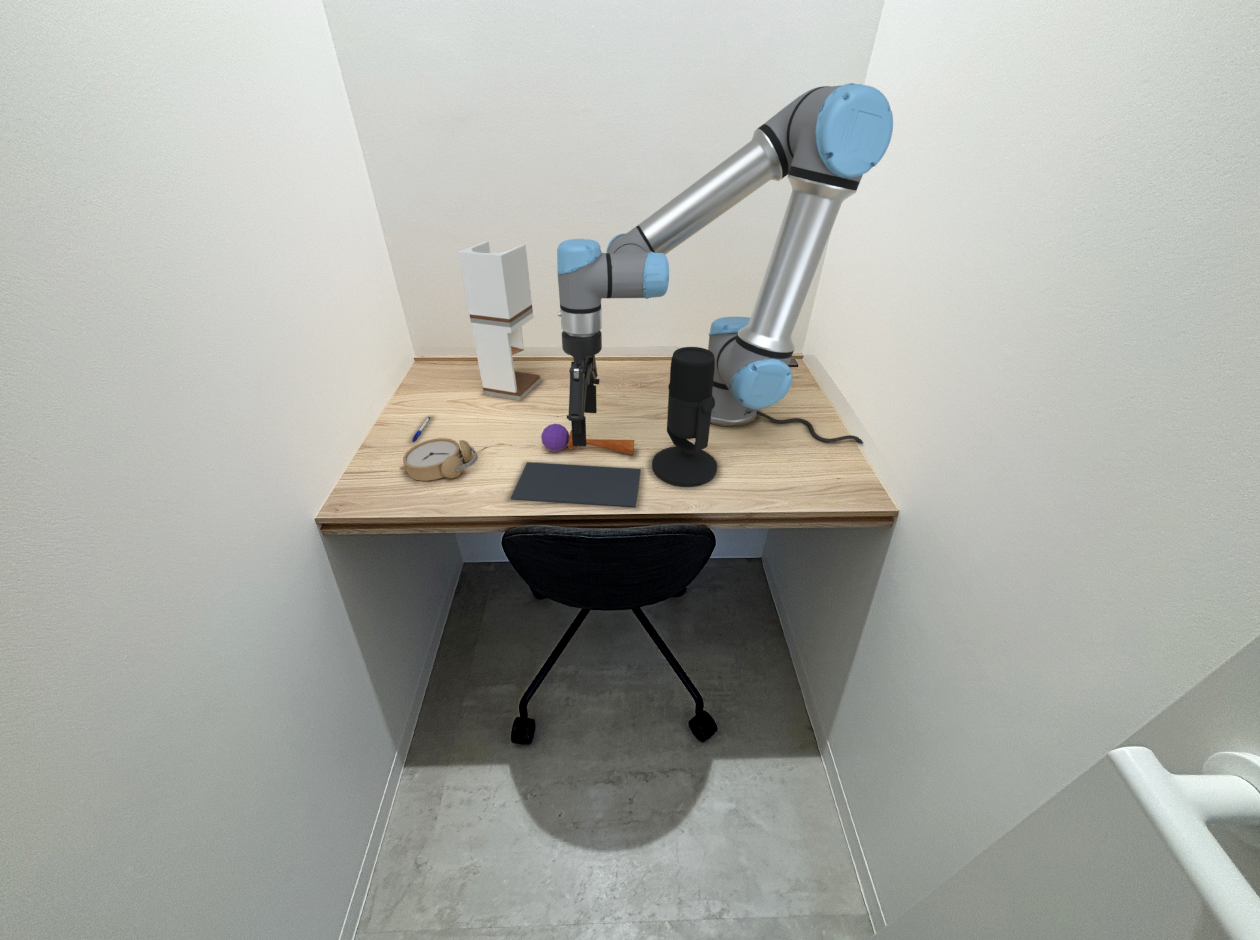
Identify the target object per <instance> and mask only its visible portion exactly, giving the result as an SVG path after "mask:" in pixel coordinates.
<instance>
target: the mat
mask: <svg viewBox="0 0 1260 940" xmlns="http://www.w3.org/2000/svg"><path fill="white" fill-rule="evenodd" d="M641 472H642V471H641V468H632V467H631V468H629V467H613V466H599V465H597V466H596V465H581V464H563V463H547V462H530V461H527V462H526V463H525V465H524V468H523V470H522V473H521V474H520V476H519V479H518V481H517V483H516V485H515V488H514V490H513V492H512V494H511V495H510V500H515V501H516V500H517V501H530V502H531V501H532V502H545V503H561V504H575V505H592V506H606V507H619V508H621V507H622V508H637V507H636V506H637V500H638V492H639V485H640V477H641Z"/></svg>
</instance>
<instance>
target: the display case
mask: <svg viewBox="0 0 1260 940" xmlns="http://www.w3.org/2000/svg"><path fill="white" fill-rule="evenodd" d="M457 254H458V260H459V265H460V266H459V267H460V271H461V276H462V281H463V287H464V291H465V292H464V293H465V297H466V304H467V309H468V314H469V319H470V326H471V330H472V331H471V332H472V336H473V337H472V338H473V342H474V347H475V353H476V357H477V364H478V368H479V374H480V380H481V384H482V390H483V395H485V396H490V397H497V398H503V399H509V400H514V401H522V400H523V399H525V397H526V396H527V395H528V394H529V393H531V392H532V391H533V390H534V389H535V388H536V387H537V386H538V385H539V384H540V383H541V375H540V374H535V373H529V372H522V371H517V370H515V365H514V359H513V356H514V355H516V354H519V353H521V352H523V351H525V343H524V335H523V329H522V327H523V326H524V325H525V324H527V323H528V322H530V321H531V320H533V319H534V311H533V300H532V292H531V283H530V273H529V263H528V254H527V245H526V244H520V245H518V246H515V247H513V248H510V249H509V250H506V251H505V250H504V251H501V252H499V251H498V252H491V248H490V241H483V242H480V243H478V244H475V245H472V246H469V247H466V248H464V249H462V250H460V251H457Z"/></svg>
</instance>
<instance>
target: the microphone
mask: <svg viewBox="0 0 1260 940" xmlns="http://www.w3.org/2000/svg"><path fill="white" fill-rule="evenodd" d="M670 360H671V361H670V371H669V383H668V387H667V388H668V398H667V400H668V401H667V416H666V417H667V418H666V432H667V434H668V436H669V438H670V440H671V442H672V444H673V446H669V447H666V448H664V449H661V450H660V451H658V452H657V453H656V454H655V455H654V456H653V458H652V461H651V469H652V472H653V474H654V475H655V476H656V477H657V478H658V479H659V480H661V481H662V482H664V483H666V484H669V485H671V486H675V487H681V488H692V487H699V486H702V485H705V484H708V483H710V482H711V481H712V480H713V479H714V478H715V477H716V475H717V472H718V463H717V461H716V459H715V457H714V456H712V455H711V454H710V453H709V452H707V451H706V450H705V449H707V448H708V446H709V438H710V437H709V436H710V429H711V423H710V421H711V413H712V409H713V408H714V407H715V399H714V397H713V396H712V389H713V380H714V370H715V358H714V354H713V353H712V352H711V351H709V350H708V348H704V347H700V346H683V347H679V348H677V349H676V350H674V351H673V353H672V356H671V359H670ZM693 439H694V443H693V442H691V441H690V440H693Z"/></svg>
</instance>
